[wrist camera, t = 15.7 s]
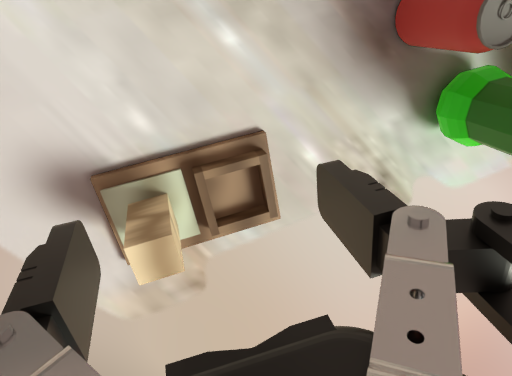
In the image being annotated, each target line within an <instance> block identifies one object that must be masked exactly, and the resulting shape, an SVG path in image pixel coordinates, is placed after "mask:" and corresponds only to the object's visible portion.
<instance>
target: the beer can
mask: <svg viewBox="0 0 512 376" xmlns="http://www.w3.org/2000/svg"><path fill="white" fill-rule="evenodd" d="M395 20H396V29H397V33H398V35H399V37H400V38H401V39H402V40H403V42H405V43H406V44H408V45H411V46H419V47H428V48H436V49H445V50H453V51H462V52H470V53H483V52H487V51H490V50H493V49H497V50H498V49H502V48H505V47H507V46H509V45H510V44H512V0H401V2H400V4H399V6H398V8H397V13H396V17H395Z"/></svg>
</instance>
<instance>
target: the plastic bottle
mask: <svg viewBox="0 0 512 376" xmlns="http://www.w3.org/2000/svg"><path fill="white" fill-rule="evenodd" d="M436 115H437V118H438V122H439V126H440V129H441V132H442V133H443V134H444V136H446V137H448V138H450V139H452V140H454V141H456V142H458V143H460V144H463V145H465V146H477V145H482V144H483V145H486V146H489V147H491V148H494V149H496V150H499V151H502V152H504V153H507V154H509V155H512V77H511V76H510V75H508V74H507V73H506V72H504V71H503V70H501V69H500V68H498V67H497V66H491V65H486V66H483V67H479V68H475V69H472V70H468V71H465V72H461V73H459V74H458V75H457V76H456V77H455V78H454V79H453V80H452V81H451V82H450V83H449V84H448V85H447V86H446V88H445V89H444V90H443V91H442V93H441V96H440V99H439V102H438V105H437V109H436Z"/></svg>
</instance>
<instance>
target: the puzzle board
mask: <svg viewBox="0 0 512 376" xmlns="http://www.w3.org/2000/svg"><path fill="white" fill-rule="evenodd" d="M90 180H91V182H92V185H93V187H94V189H95V191H96V194H97V196H98V198H99V201H100V203H101V205H102V207H103V210H104V212H105V214H106V216H107V219H108V221H109V223H110V225H111V228H112V230H113V232H114V235H115V237H116V239H117V241H118V244H119V246H120V248H121V250H122V253H123V255H124V257H125V259H126V262H127V264H128V265H130V263H129V260H128V258H127V256H126V254H125V251H124V239H125V229H126V218H127V208H128V204H131V203H134V202H138V201H141V200H145V199H149V198H152V197H156V196H159V195H163V194H166V193H167V194H168V197H169V200H170V203H171V206H172V209H173V212H174V215H175V218H176V221H177V224H178V229H179V236H180V242H181V249H182V248H186V247H189V246H192V245H196V244H199V243H202V242H205V241H209V240H212V239H215V238H218V237H222V236H225V235H228V234H231V233H235V232H238V231H241V230H245V229H248V228H251V227H254V226H258V225H261V224H264V223H267V222H271V221H274V220H277V219H280V212H279V206H278V200H277V195H276V189H275V183H274V177H273V172H272V166H271V160H270V154H269V149H268V143H267V137H266V133H265V132H264V131H260V132H256V133H252V134H248V135H244V136H241V137H237V138H233V139H229V140H225V141H222V142H218V143H214V144H210V145H207V146H203V147H199V148H195V149H191V150H188V151H184V152H180V153H176V154H173V155H169V156H165V157H161V158H157V159H154V160H150V161H146V162H142V163H138V164H135V165H131V166H127V167H123V168H120V169H116V170H112V171H108V172H104V173H101V174H97V175H93V176H91V179H90Z"/></svg>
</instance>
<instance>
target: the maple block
mask: <svg viewBox="0 0 512 376" xmlns="http://www.w3.org/2000/svg"><path fill="white" fill-rule="evenodd" d="M124 251H125V254H126V256H127V258H128V260H129V263H130V265H131V267H132V270H133V272H134V274H135V276H136V279H137V281H138V283H139V285H142V284H146V283H149V282H152V281H155V280H158V279H161V278H164V277H168V276H171V275H174V274H177V273H180V272H183V271H185V269H184V263H183V256H182V249H181V242H180V236H179V229H178V224H177V221H176V218H175V215H174V212H173V209H172V206H171V203H170V200H169V197H168V194H167V193H166V194H163V195H159V196H156V197H152V198H149V199H145V200H141V201H138V202H134V203H131V204H128V208H127V218H126V229H125V239H124Z"/></svg>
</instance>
